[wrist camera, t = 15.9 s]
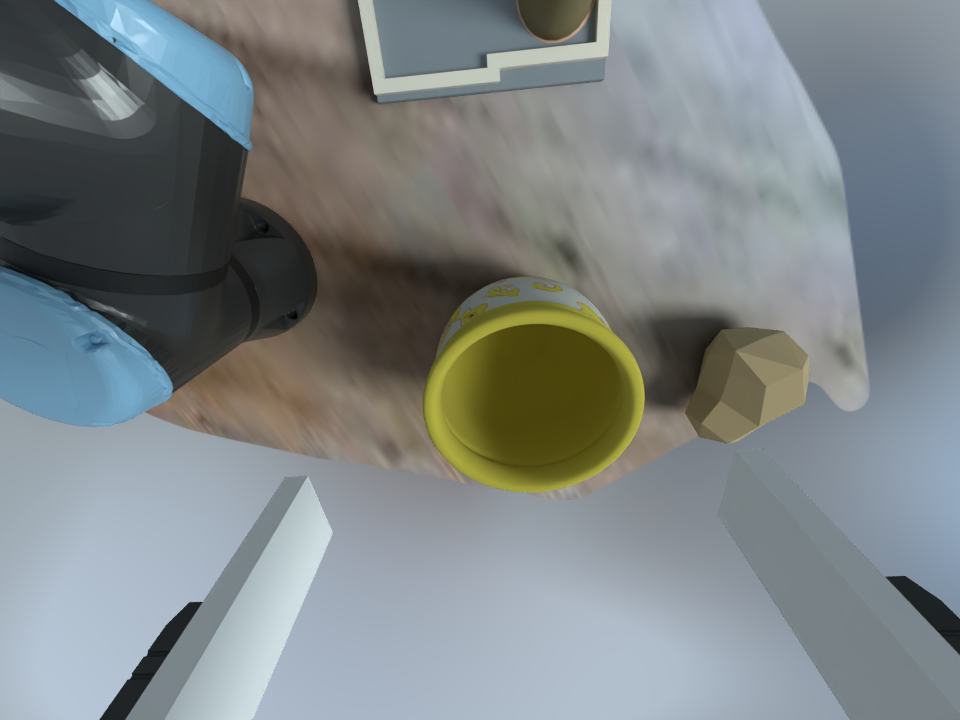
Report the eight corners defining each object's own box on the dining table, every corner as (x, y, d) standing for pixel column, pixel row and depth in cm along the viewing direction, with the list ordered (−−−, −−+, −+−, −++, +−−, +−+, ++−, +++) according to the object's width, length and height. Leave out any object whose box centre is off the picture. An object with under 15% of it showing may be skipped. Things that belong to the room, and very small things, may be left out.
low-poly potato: (744, 286, 41) (670, 336, 39) (864, 329, 34) (782, 396, 31) (718, 376, 51) (658, 421, 49) (806, 425, 44) (740, 482, 41)
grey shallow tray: (380, 104, 34) (375, 101, 33) (349, -83, 29) (340, -97, 27) (601, 81, 33) (606, 77, 31) (612, -119, 27) (620, -137, 26)
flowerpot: (597, 387, 48) (642, 484, 33) (460, 404, 50) (446, 503, 35) (593, 245, 40) (651, 292, 25) (429, 271, 41) (395, 329, 27)
